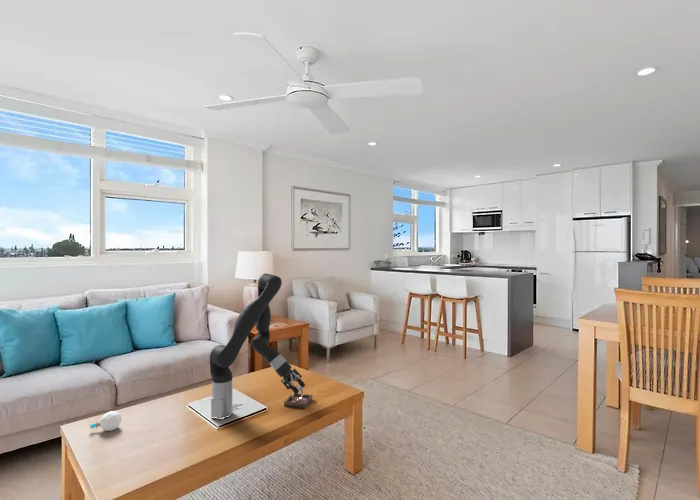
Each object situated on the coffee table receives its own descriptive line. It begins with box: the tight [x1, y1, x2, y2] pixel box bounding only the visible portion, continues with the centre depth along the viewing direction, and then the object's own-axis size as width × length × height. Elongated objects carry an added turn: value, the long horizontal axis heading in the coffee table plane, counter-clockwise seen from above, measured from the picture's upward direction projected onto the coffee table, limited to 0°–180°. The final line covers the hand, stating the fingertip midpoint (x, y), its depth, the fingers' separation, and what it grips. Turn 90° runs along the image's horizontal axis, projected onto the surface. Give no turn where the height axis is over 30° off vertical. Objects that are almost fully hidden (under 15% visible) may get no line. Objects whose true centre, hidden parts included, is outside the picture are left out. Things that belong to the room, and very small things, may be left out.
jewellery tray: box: [283, 392, 313, 410], centre depth 193 cm, size 11×11×2 cm
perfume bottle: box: [89, 410, 122, 432], centre depth 164 cm, size 8×8×12 cm
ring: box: [291, 385, 305, 402], centre depth 192 cm, size 7×3×8 cm, turn 132°
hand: (301, 389), depth 192 cm, fingers open, 8 cm apart
